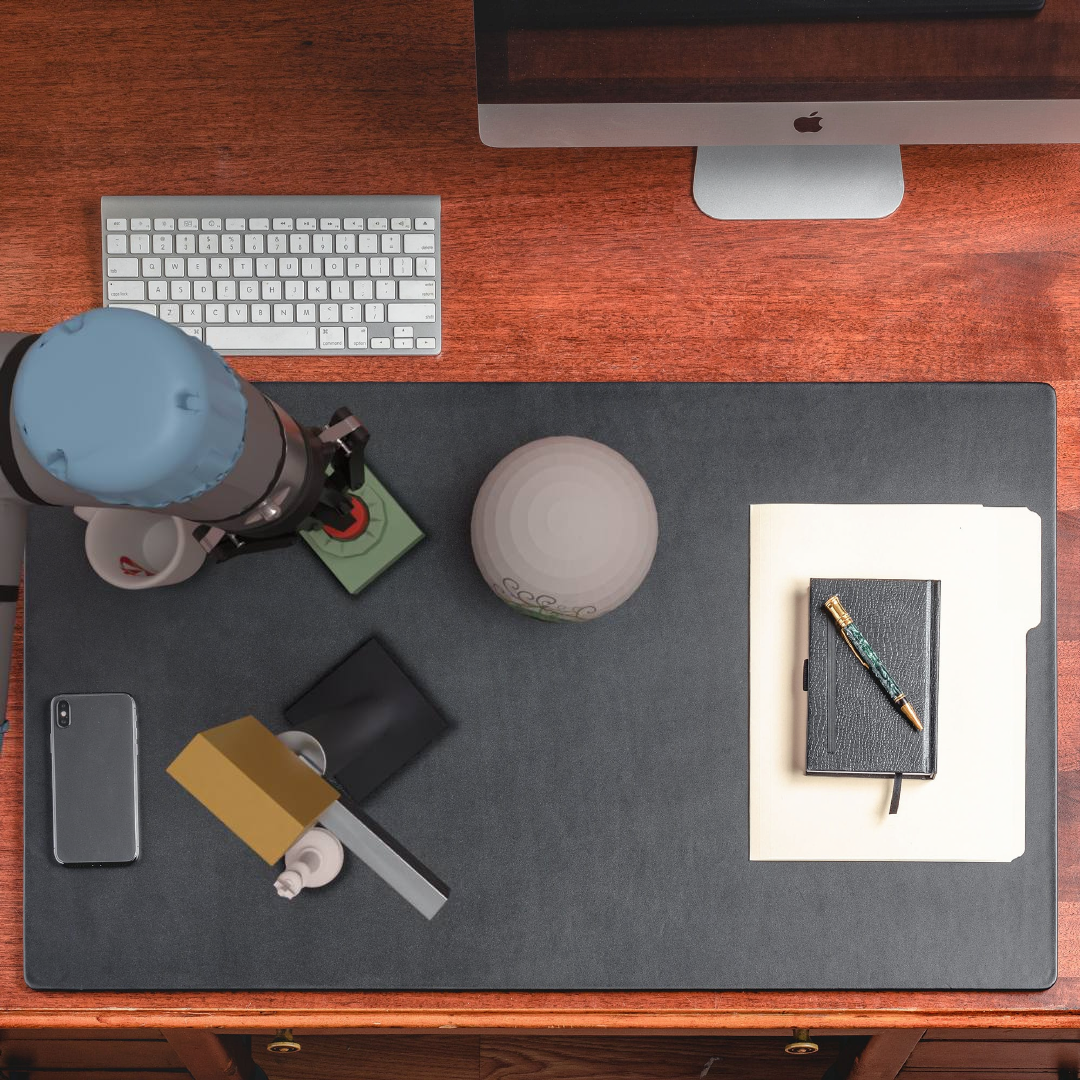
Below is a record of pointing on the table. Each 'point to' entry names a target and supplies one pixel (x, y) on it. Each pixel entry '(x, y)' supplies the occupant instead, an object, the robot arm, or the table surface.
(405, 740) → the faucet body
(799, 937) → the table surface
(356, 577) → the button box
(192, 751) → the tap handle
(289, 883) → the chess piece
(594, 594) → the decorative object
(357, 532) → the button
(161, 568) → the cup
